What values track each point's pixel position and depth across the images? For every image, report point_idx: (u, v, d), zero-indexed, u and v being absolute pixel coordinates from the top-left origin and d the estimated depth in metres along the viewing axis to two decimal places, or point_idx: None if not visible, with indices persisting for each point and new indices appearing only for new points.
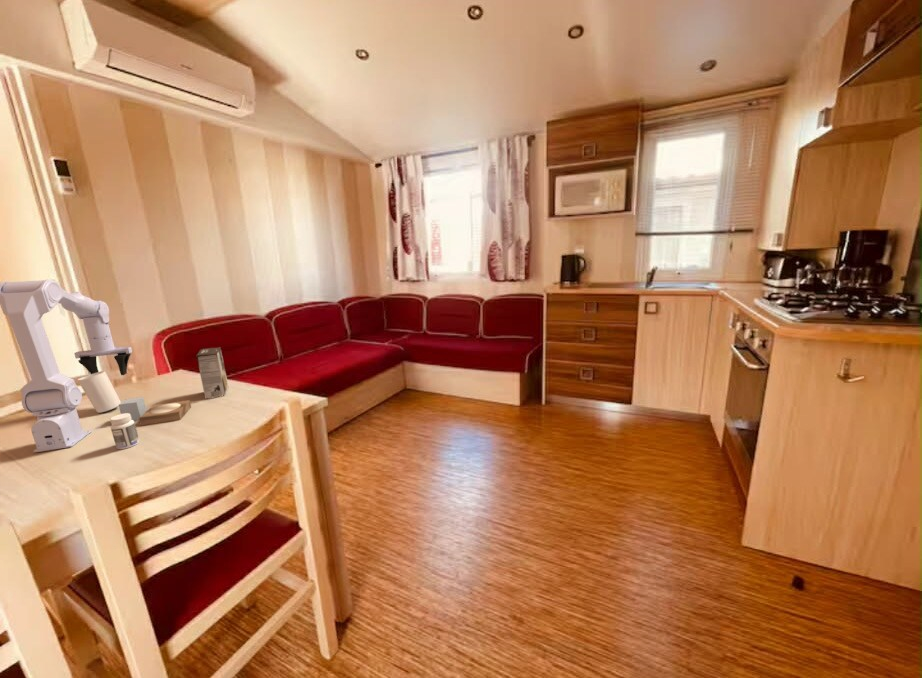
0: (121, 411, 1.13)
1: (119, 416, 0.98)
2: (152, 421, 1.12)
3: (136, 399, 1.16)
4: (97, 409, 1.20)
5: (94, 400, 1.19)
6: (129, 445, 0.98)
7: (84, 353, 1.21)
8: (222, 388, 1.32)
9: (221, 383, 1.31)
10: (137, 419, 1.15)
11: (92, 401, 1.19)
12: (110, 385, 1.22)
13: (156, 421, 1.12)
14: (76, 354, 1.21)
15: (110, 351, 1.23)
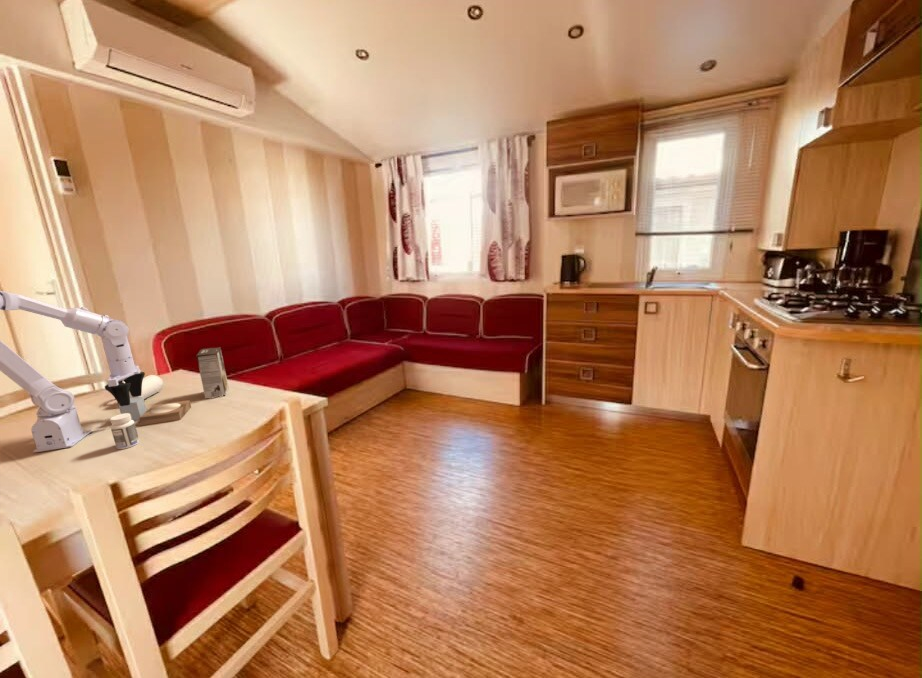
0: (121, 411, 1.13)
1: (119, 416, 0.98)
2: (152, 421, 1.12)
3: (136, 399, 1.16)
4: None
5: (146, 387, 1.30)
6: (129, 445, 0.98)
7: None
8: (222, 388, 1.32)
9: (221, 383, 1.31)
10: (137, 419, 1.15)
11: (144, 385, 1.30)
12: None
13: (156, 421, 1.12)
14: None
15: (110, 377, 1.09)
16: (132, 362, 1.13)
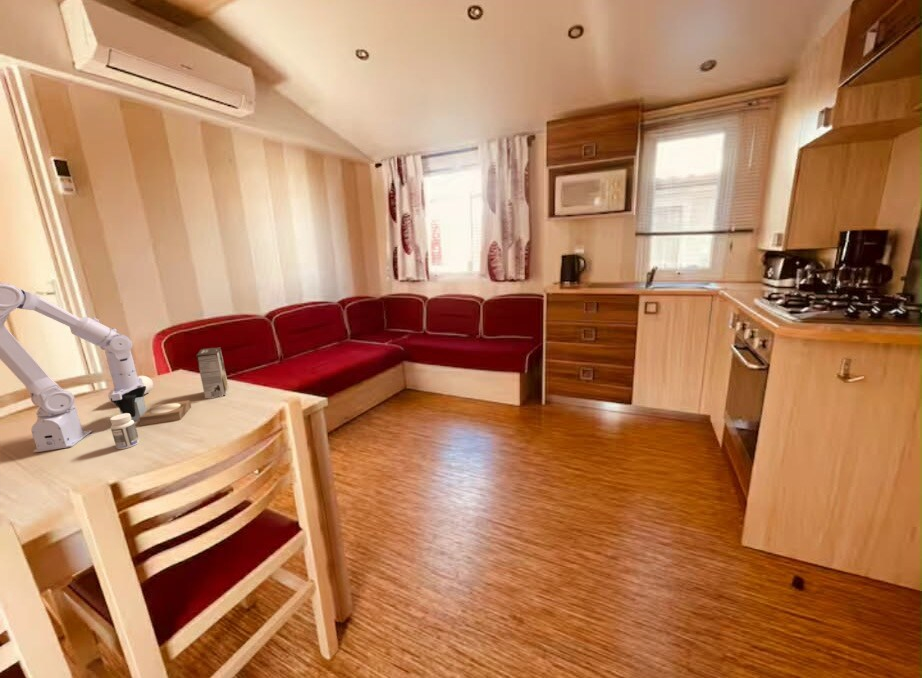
0: (121, 411, 1.13)
1: (119, 416, 0.98)
2: (152, 421, 1.12)
3: (136, 399, 1.16)
4: None
5: None
6: (129, 445, 0.98)
7: None
8: (222, 388, 1.32)
9: (221, 383, 1.31)
10: (137, 419, 1.15)
11: None
12: None
13: (156, 421, 1.12)
14: None
15: None
16: (135, 376, 1.14)
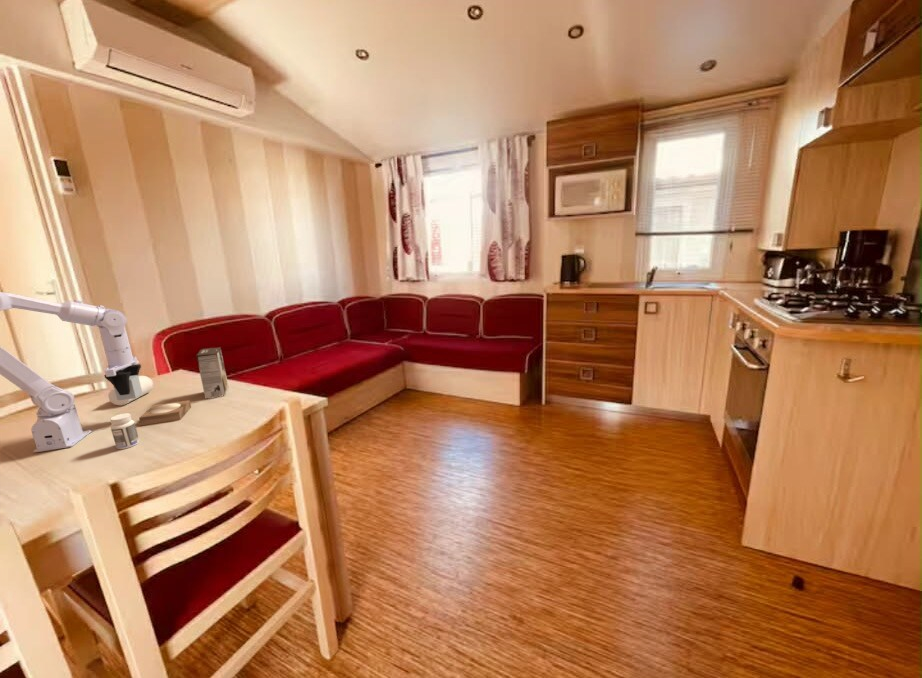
0: (115, 388, 1.11)
1: (119, 416, 0.98)
2: (152, 421, 1.12)
3: (131, 377, 1.14)
4: None
5: None
6: (129, 445, 0.98)
7: None
8: (222, 388, 1.32)
9: (221, 383, 1.31)
10: (132, 397, 1.13)
11: None
12: (143, 392, 1.33)
13: (156, 421, 1.12)
14: None
15: (107, 367, 1.09)
16: (130, 353, 1.12)
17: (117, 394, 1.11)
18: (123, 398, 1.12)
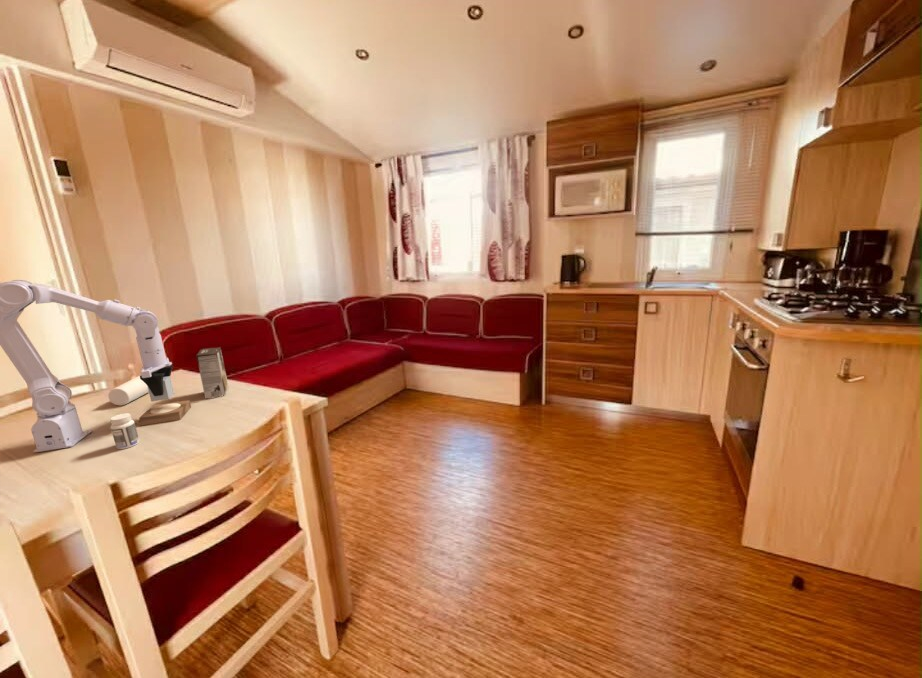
0: (149, 389, 1.12)
1: (119, 416, 0.98)
2: (152, 421, 1.12)
3: (164, 378, 1.15)
4: (118, 387, 1.26)
5: (128, 383, 1.29)
6: (129, 445, 0.98)
7: None
8: (222, 388, 1.32)
9: (221, 383, 1.31)
10: (165, 398, 1.14)
11: (124, 383, 1.29)
12: (143, 392, 1.33)
13: (156, 421, 1.12)
14: None
15: (142, 369, 1.10)
16: (163, 354, 1.13)
17: (151, 395, 1.13)
18: (157, 399, 1.13)
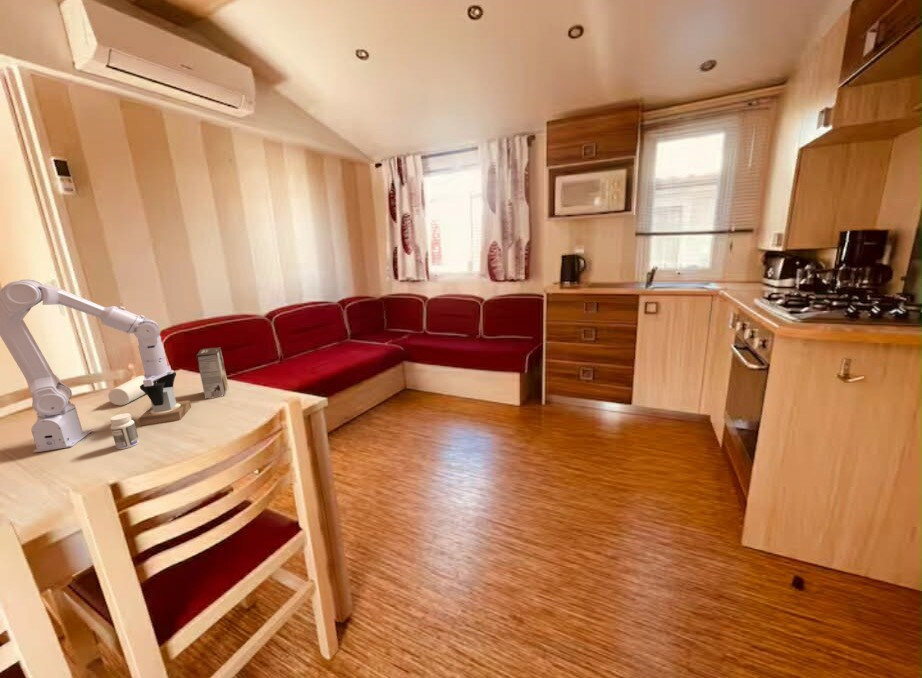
0: None
1: (119, 416, 0.98)
2: (152, 421, 1.12)
3: (166, 389, 1.16)
4: (118, 387, 1.26)
5: (128, 383, 1.29)
6: (129, 445, 0.98)
7: None
8: (222, 388, 1.32)
9: (221, 383, 1.31)
10: (167, 409, 1.15)
11: (124, 383, 1.29)
12: (143, 392, 1.33)
13: (156, 421, 1.12)
14: None
15: (144, 377, 1.11)
16: (165, 362, 1.14)
17: (153, 406, 1.14)
18: (159, 410, 1.14)
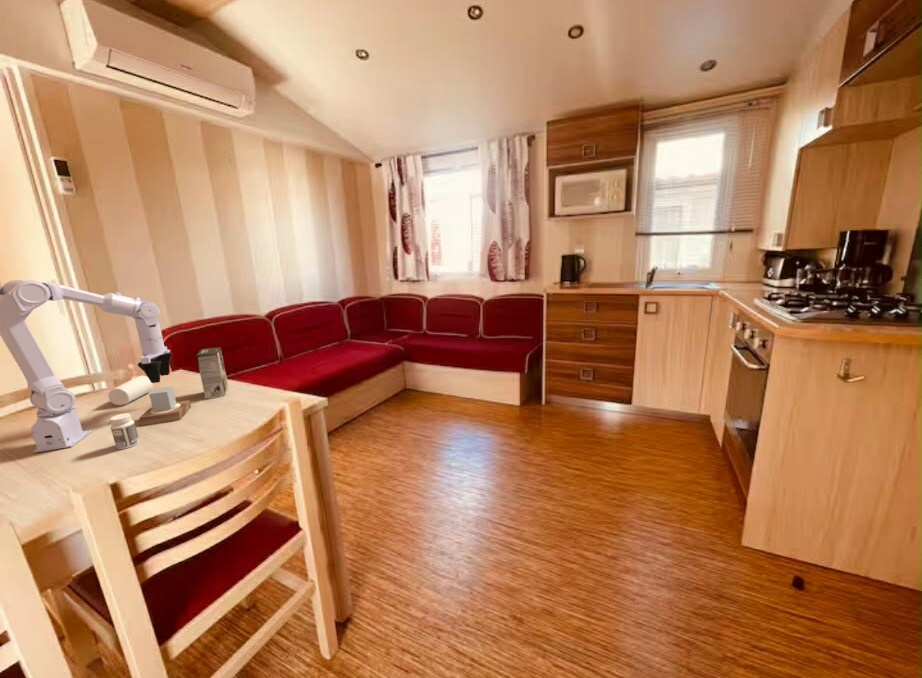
0: (152, 400, 1.13)
1: (119, 416, 0.98)
2: (152, 421, 1.12)
3: (166, 389, 1.16)
4: (118, 387, 1.26)
5: (128, 383, 1.29)
6: (129, 445, 0.98)
7: None
8: (222, 388, 1.32)
9: (221, 383, 1.31)
10: (167, 409, 1.15)
11: (124, 383, 1.29)
12: (143, 392, 1.33)
13: (156, 421, 1.12)
14: None
15: (142, 355, 1.17)
16: (162, 342, 1.20)
17: (153, 406, 1.14)
18: (159, 410, 1.14)
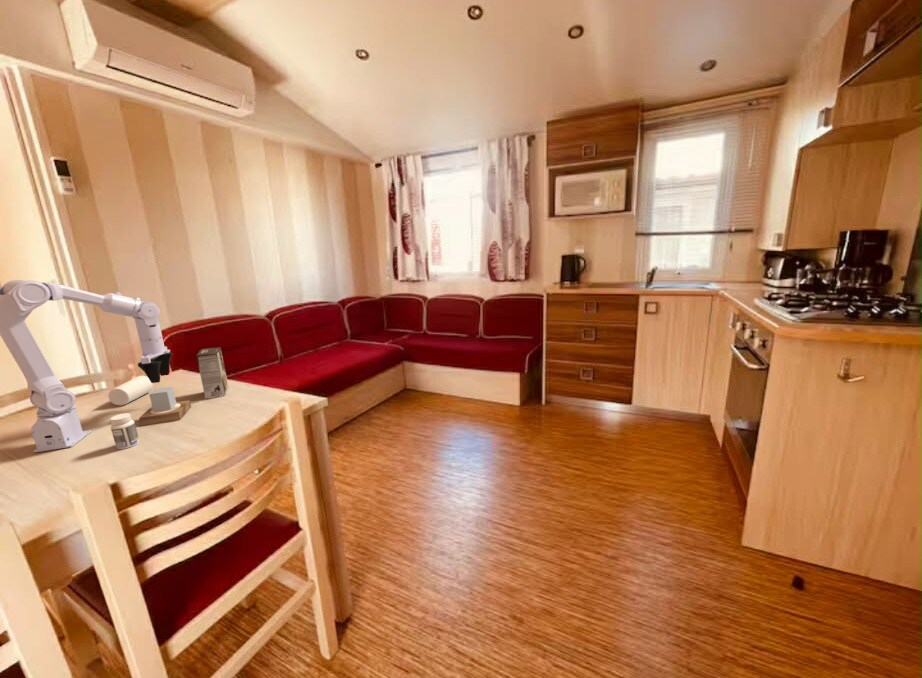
0: (152, 400, 1.13)
1: (119, 416, 0.98)
2: (152, 421, 1.12)
3: (166, 389, 1.16)
4: (118, 387, 1.26)
5: (128, 383, 1.29)
6: (129, 445, 0.98)
7: None
8: (222, 388, 1.32)
9: (221, 383, 1.31)
10: (167, 409, 1.15)
11: (124, 383, 1.29)
12: (143, 392, 1.33)
13: (156, 421, 1.12)
14: None
15: (142, 355, 1.17)
16: (162, 342, 1.20)
17: (153, 406, 1.14)
18: (159, 410, 1.14)
